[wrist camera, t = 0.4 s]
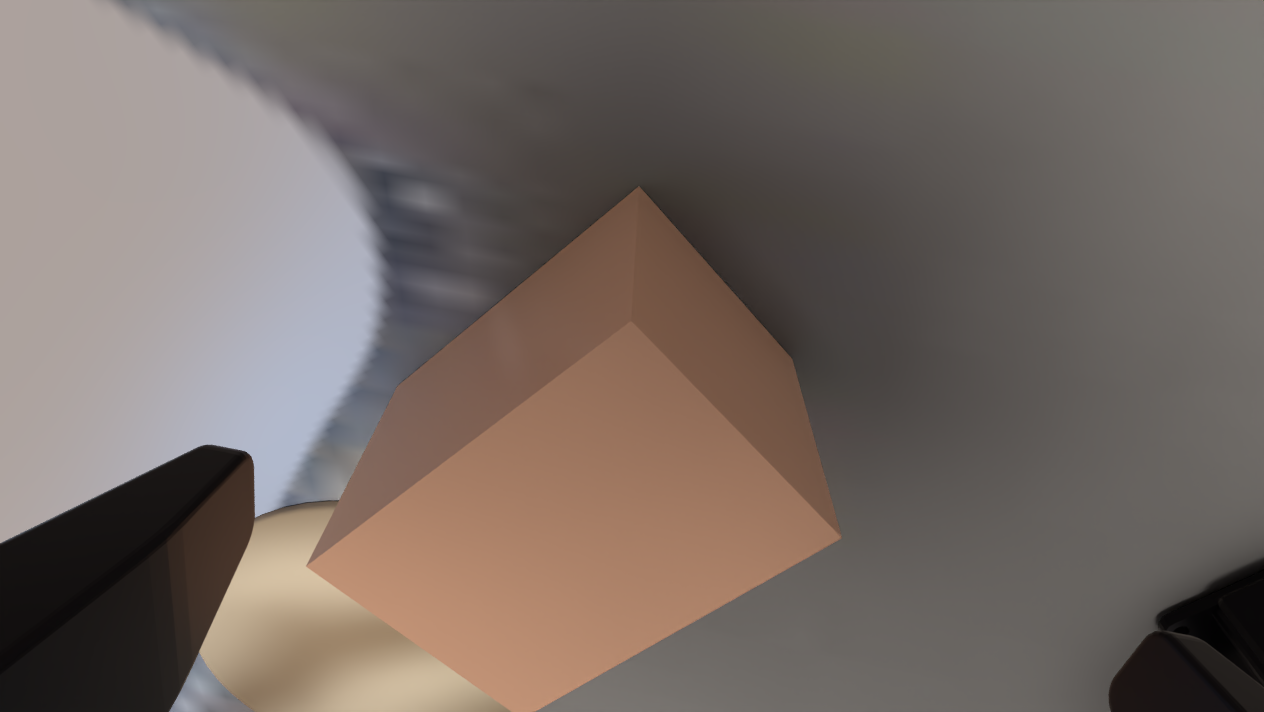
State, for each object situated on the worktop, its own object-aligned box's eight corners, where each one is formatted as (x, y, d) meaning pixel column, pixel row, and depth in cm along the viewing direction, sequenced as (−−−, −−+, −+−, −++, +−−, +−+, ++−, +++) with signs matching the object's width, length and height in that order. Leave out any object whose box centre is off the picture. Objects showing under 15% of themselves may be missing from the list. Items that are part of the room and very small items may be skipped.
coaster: (617, 651, 28) (616, 663, 28) (391, 780, 33) (388, 792, 32) (346, 436, 24) (341, 446, 24) (126, 617, 28) (118, 629, 28)
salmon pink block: (792, 358, 22) (842, 537, 16) (553, 518, 25) (522, 718, 19) (638, 185, 20) (631, 320, 14) (397, 386, 23) (305, 566, 17)
